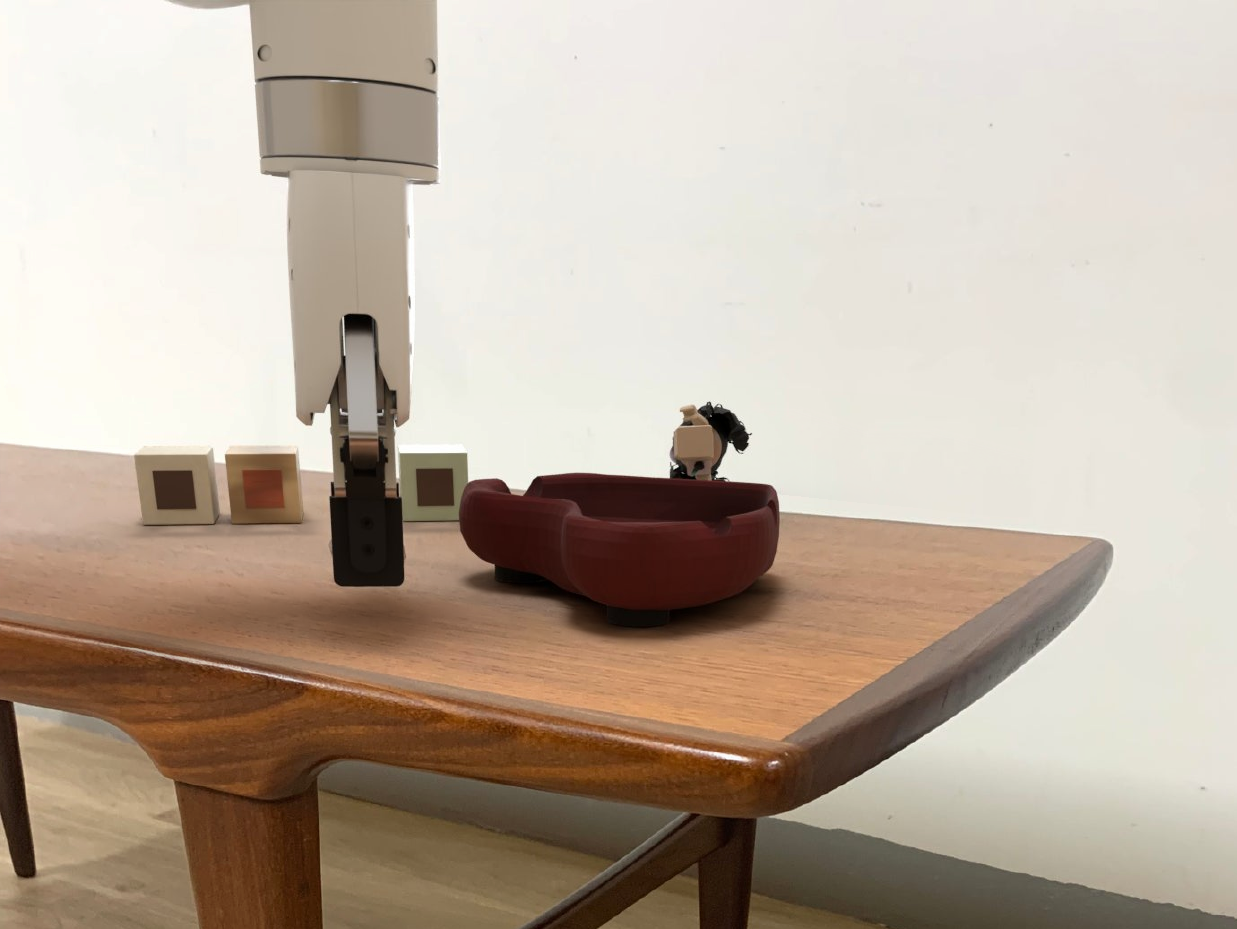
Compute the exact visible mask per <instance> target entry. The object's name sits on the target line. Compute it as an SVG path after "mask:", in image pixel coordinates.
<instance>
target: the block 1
mask: <svg viewBox="0 0 1237 929" xmlns="http://www.w3.org/2000/svg"><path fill="white" fill-rule="evenodd" d="M133 457H134V465H135V474H136V480H137V487H138V488H137V489H138V496H139V504H140V511H141V518H142V525H143V526H173V525H174V526H176V525H177V526H178V525H179V526H180V525H184V526H185V525H214V524H215V523H216V521H217V520H218V518H219V515H220V514H221V509H220V508H221V507H220V498H219V489H218V482H217V480H218V479H217V471H216V462H215V453H214V446H212V445H145V446H143V447H141V448H140V449H139V450H138V451H136V452H135V453H134V454H133Z"/></svg>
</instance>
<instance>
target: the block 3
mask: <svg viewBox="0 0 1237 929" xmlns="http://www.w3.org/2000/svg"><path fill="white" fill-rule="evenodd" d="M397 459H398V460H397V463H398V477H399V478H398V480H399V497H402V516H403V522H443V521H444V522H447V521H448V522H449V521H450V522H452V521H457V522H458V521H459V507H460V502H461V496H462V494H463V491H464V488H465V486H466V485H467V484H468V483H469V465H468V464H469V462H468V452H467V450H466V449H465V447H464V446H463V444H398V445H397Z"/></svg>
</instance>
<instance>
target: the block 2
mask: <svg viewBox="0 0 1237 929" xmlns="http://www.w3.org/2000/svg"><path fill="white" fill-rule="evenodd" d="M299 452H300V451H299V446H298V445H230V446H229V447H228V449H227V450H226V451H225V453H224V460H225V470H226V480H227V488H228V489H227V490H228V498H229V507H230V508H229V510H230V518H231V524H233V525H239V524H240V525H245V524H246V525H247V524H249V525H250V524H251V525H252V524H253V525H254V524H255V525H256V524H301V523H302V521H303V516H304V500H303V488H302V487H303V486H302V478H301V476H302V475H301V465H300V453H299Z"/></svg>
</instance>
